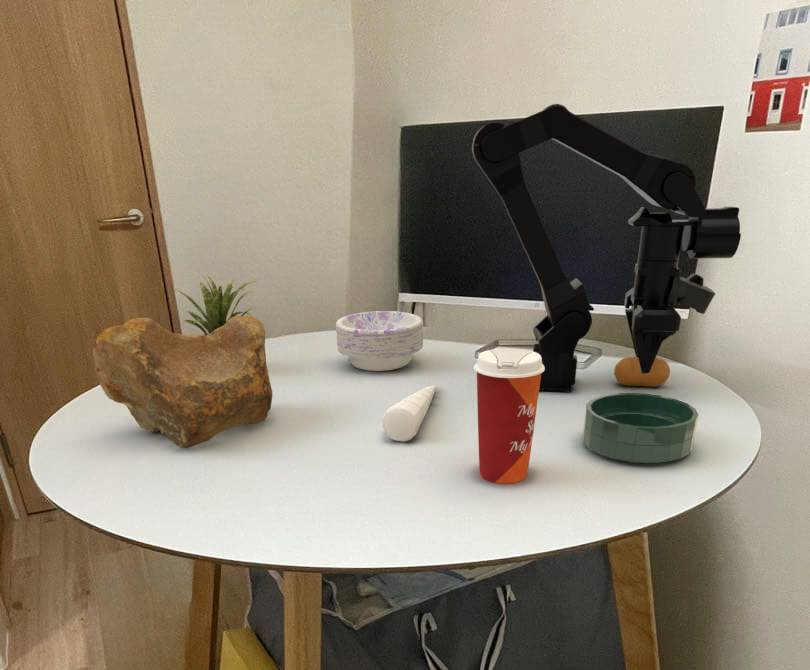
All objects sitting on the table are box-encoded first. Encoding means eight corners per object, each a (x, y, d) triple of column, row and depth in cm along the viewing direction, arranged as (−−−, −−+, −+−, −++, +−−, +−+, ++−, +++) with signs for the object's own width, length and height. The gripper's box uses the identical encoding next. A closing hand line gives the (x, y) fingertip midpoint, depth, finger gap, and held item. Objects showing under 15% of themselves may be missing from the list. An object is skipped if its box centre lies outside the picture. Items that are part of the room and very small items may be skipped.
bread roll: (613, 388, 111) (617, 360, 109) (611, 380, 115) (615, 353, 113) (669, 390, 109) (673, 362, 107) (665, 382, 113) (670, 355, 111)
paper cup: (534, 490, 79) (544, 366, 72) (466, 485, 80) (470, 363, 73) (537, 463, 86) (546, 347, 79) (474, 459, 87) (478, 345, 80)
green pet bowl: (583, 464, 85) (588, 424, 83) (581, 426, 96) (585, 391, 94) (698, 470, 83) (706, 430, 80) (682, 431, 94) (688, 395, 92)
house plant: (289, 368, 125) (279, 271, 117) (233, 388, 115) (219, 283, 107) (231, 358, 132) (218, 265, 124) (174, 376, 122) (155, 277, 114)
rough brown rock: (121, 474, 87) (98, 356, 79) (104, 423, 99) (83, 316, 91) (300, 446, 96) (296, 337, 88) (264, 403, 108) (258, 304, 100)
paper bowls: (361, 381, 117) (359, 333, 113) (325, 361, 128) (321, 316, 125) (439, 367, 123) (439, 321, 119) (397, 349, 135) (396, 307, 131)
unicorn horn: (457, 390, 111) (458, 360, 109) (416, 445, 92) (415, 409, 89) (428, 388, 113) (428, 358, 110) (381, 441, 93) (380, 406, 91)
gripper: (729, 269, 93) (706, 384, 101) (705, 251, 109) (687, 351, 117) (642, 268, 95) (626, 381, 103) (630, 250, 111) (618, 349, 119)
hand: (642, 364), depth 110 cm, fingers open, 9 cm apart
